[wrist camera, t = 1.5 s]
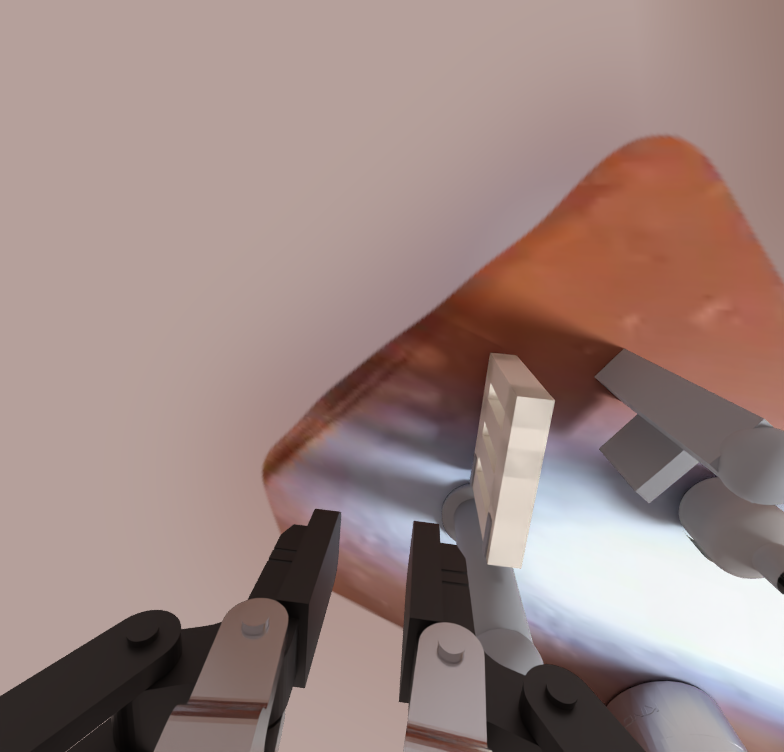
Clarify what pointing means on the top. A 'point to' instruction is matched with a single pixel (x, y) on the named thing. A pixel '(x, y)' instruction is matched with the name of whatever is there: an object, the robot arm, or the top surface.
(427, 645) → the robot arm
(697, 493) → the reed diffuser
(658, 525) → the top surface
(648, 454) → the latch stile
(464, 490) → the hinge post
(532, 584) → the top surface
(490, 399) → the gate
